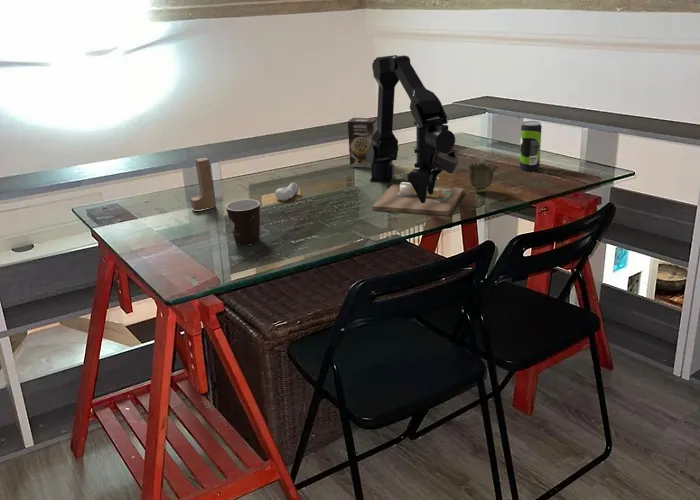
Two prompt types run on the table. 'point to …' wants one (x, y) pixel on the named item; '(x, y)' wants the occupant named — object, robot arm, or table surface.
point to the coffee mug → (245, 221)
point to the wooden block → (204, 186)
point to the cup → (481, 176)
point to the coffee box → (360, 140)
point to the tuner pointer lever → (408, 190)
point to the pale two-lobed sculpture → (287, 192)
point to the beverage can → (530, 145)
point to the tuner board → (418, 201)
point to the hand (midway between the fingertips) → (426, 198)
